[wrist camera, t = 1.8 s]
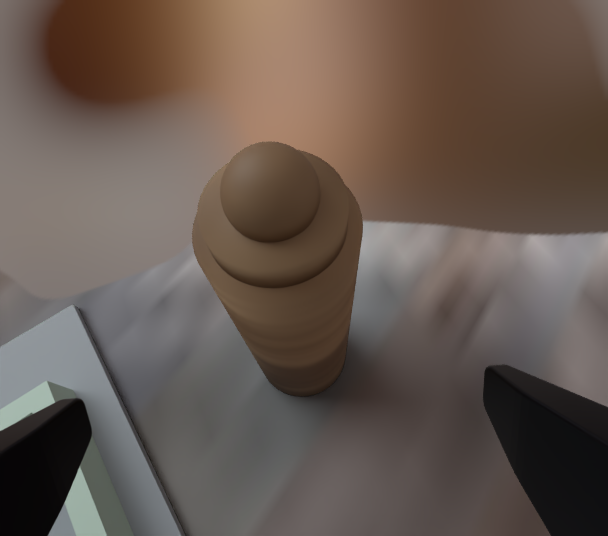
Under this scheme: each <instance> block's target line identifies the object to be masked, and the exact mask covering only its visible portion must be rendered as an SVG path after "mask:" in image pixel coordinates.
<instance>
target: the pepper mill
mask: <svg viewBox="0 0 608 536" xmlns="http://www.w3.org/2000/svg"><path fill="white" fill-rule="evenodd" d="M362 233H363V222H362V215H361V211H360V208H359V205H358V203H357V201H356V199H355V197H354V196H353V194H352V192H351V191H350V190H349V188H348V187H347V186H346V185H345V184H344V182H343V180H342V179H341V177H340V175H339V174H338V173H337V172H336V171H335V169H334V168H332V167H331V166H330V165H329V164H328V163H327V162H325V161H324V160H322V159H320V158H319V157H317V156H314V155H313V154H310V153H307V152H304V151H300V150H296V149H295V148H293V147H291V146H289V145H286V144H283V143H279V142H260V143H256V144H253V145H250V146H249V147H246V148H244V149H243V150H242V151H240V152H239V153H237V154H236V155H235V156H234V157H233V158H232V160H231V161H230V162H229V163H227V164H226V165H225V166H223V167H222V168H221V169H220V170H218V171H217V172H216V173H215V175H213V177H212V178H211V179H210V180H209V182H208V183H207V185H206V186H205V188H204V190H203V192H202V194H201V196H200V200H199V203H198V211H197V214H196V217H195V220H194V224H193V231H192V243H193V249H194V253H195V256H196V259H197V261H198V263H199V265H200V267H201V268H202V270H203V272H204V274H205V275H206V277H207V279H208V280H209V282H210V284H211V285H212V287H213V289H214V290H215V292H216V294H217V295H218V297H219V299H220V300H221V302H222V304H223V305H224V307H225V309H226V311H227V312H228V314H229V316H230V317H231V319H232V321H233V322H234V324H235V326H236V327H237V329H238V331H239V332H240V334H241V336H242V337H243V339H244V341H245V342H246V344H247V346H248V347H249V349H250V351H251V353H252V354H253V356H254V358H255V359H256V361H257V363H258V364H259V366H260V368H261V369H262V371H263V373H264V374H265V376H266V378H267V379H268V380H269V382H270V383H271V384H272V385H273V386H274V387H276V388H277V389H278V390H280V391H282V392H284V393H286V394H289V395H293V396H311V395H315V394H318V393H320V392H322V391H324V390H325V389H327V388H328V387H330V386H331V385H332V384H333V383H334V382H335V381H336V379H337V378H338V377H339V375H340V373H341V371H342V369H343V366H344V362H345V356H346V349H347V342H348V335H349V327H350V320H351V313H352V306H353V298H354V291H355V284H356V277H357V270H358V262H359V255H360V248H361V241H362Z"/></svg>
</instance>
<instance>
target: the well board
mask: <svg viewBox="0 0 608 536" xmlns="http://www.w3.org/2000/svg"><path fill="white" fill-rule="evenodd" d="M70 398H80V399H82V400H83V401H84V403H85V406H86V410H87V413H88V417H89V420H90V424H91V427H92V437H91V441H90V443H89V446H88V448H87V450H86V453H85V455H84V458H83V460H82V462H81V465H80V467H79V470H78V472H77V475H76V477H75V479H74V482H73V484H72V487H71V489H70V491H69V494H68V496H67V498H66V501H65V503H64V505H63V507H62V509H61V511H60V513H59V515H58V517H57V519H56V521H55V523H54V525H53V527H52V529H51V531H50V533H49V535H48V536H186V535H185V533H184V531H183V529H182V527H181V525H180V523H179V521H178V518H177V516H176V514H175V512H174V510H173V508H172V506H171V504H170V501H169V499H168V497H167V495H166V493H165V491H164V489H163V487H162V485H161V482H160V480H159V478H158V476H157V474H156V472H155V470H154V468H153V466H152V463H151V461H150V459H149V457H148V455H147V453H146V451H145V449H144V446H143V444H142V442H141V440H140V438H139V436H138V434H137V432H136V430H135V427H134V425H133V423H132V421H131V419H130V417H129V415H128V413H127V411H126V408H125V406H124V404H123V402H122V400H121V398H120V396H119V394H118V391H117V389H116V387H115V385H114V383H113V381H112V379H111V377H110V375H109V372H108V370H107V368H106V366H105V364H104V362H103V360H102V358H101V356H100V353H99V351H98V349H97V347H96V345H95V343H94V341H93V339H92V336H91V334H90V332H89V330H88V328H87V326H86V324H85V322H84V320H83V317H82V315H81V313H80V311H79V309H78V307H76V306H75V305H71V306H69V307H68V308H66V309H64V310H62V311H61V312H59V313H57V314H56V315H54V316H52V317H51V318H49V319H47V320H45V321H44V322H42V323H40V324H39V325H37V326H35V327H34V328H32V329H30V330H28V331H27V332H25V333H23V334H22V335H20V336H18V337H17V338H15V339H13V340H11V341H10V342H8V343H6V344H5V345H3V346H1V347H0V431H1V430H3V429H5V428H7V427H9V426H11V425H13V424H15V423H16V422H18V421H20V420H22V419H24V418H26V417H28V416H30V415H32V414H34V413H36V412H38V411H40V410H42V409H44V408H45V407H47V406H49V405H51V404H53V403H55V402H57V401H59V400H62V399H70Z"/></svg>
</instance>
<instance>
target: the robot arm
mask: <svg viewBox="0 0 608 536" xmlns="http://www.w3.org/2000/svg"><path fill="white" fill-rule="evenodd" d="M483 402H484V407H485V410H486V412H487V414H488V416H489V418H490V421H491V423H492V425H493V427H494V429H495V432H496V434H497V436H498V438H499V440H500V443H501V445H502V447H503V449H504V451H505V454H506V456H507V458H508V460H509V462H510V464H511V467H512V469H513V471H514V473H515V475H516V476H517V478H518V480H519V482H520V484H521V485H522V487H523V489H524V490H525V492H526V494H527V495H528V497H529V499H530V501H531V502H532V504H533V506H534V507H535V509H536V511H537V512H538V514H539V516H540V518H541V519H542V521H543V523H544V524H545V526H546V528H547V529H548V531H549V533H550V535H551V536H608V407H606V406H604V405H601V404H599V403H596V402H594V401H592V400H589V399H587V398H585V397H582V396H580V395H577V394H575V393H573V392H570V391H568V390H566V389H563V388H561V387H558V386H556V385H554V384H551V383H549V382H547V381H544V380H542V379H539V378H537V377H535V376H532V375H530V374H527V373H525V372H523V371H520V370H518V369H516V368H513V367H511V366H508V365H504V364H502V365H490V366H488V367H487V368H486V369H485V373H484V391H483ZM91 437H92V427H91V424H90V420H89V417H88V413H87V410H86V406H85V403H84V401H83V400H82V399H80V398H70V399H62V400H59V401H57V402H55V403H53V404H51V405H49V406H47V407H45V408H44V409H42V410H40V411H38V412H36V413H34V414H32V415H30V416H28V417H26V418H24V419H22V420H20V421H18V422H16V423H15V424H13V425H11V426H9V427H7V428H5V429H3V430H1V431H0V536H48V535H49V533H50V531H51V529H52V527H53V525H54V523H55V521H56V519H57V517H58V515H59V513H60V511H61V509H62V507H63V505H64V503H65V501H66V498H67V496H68V494H69V491H70V489H71V487H72V484H73V482H74V479H75V477H76V475H77V472H78V470H79V467H80V465H81V462H82V460H83V458H84V455H85V453H86V450H87V448H88V446H89V443H90V441H91Z"/></svg>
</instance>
